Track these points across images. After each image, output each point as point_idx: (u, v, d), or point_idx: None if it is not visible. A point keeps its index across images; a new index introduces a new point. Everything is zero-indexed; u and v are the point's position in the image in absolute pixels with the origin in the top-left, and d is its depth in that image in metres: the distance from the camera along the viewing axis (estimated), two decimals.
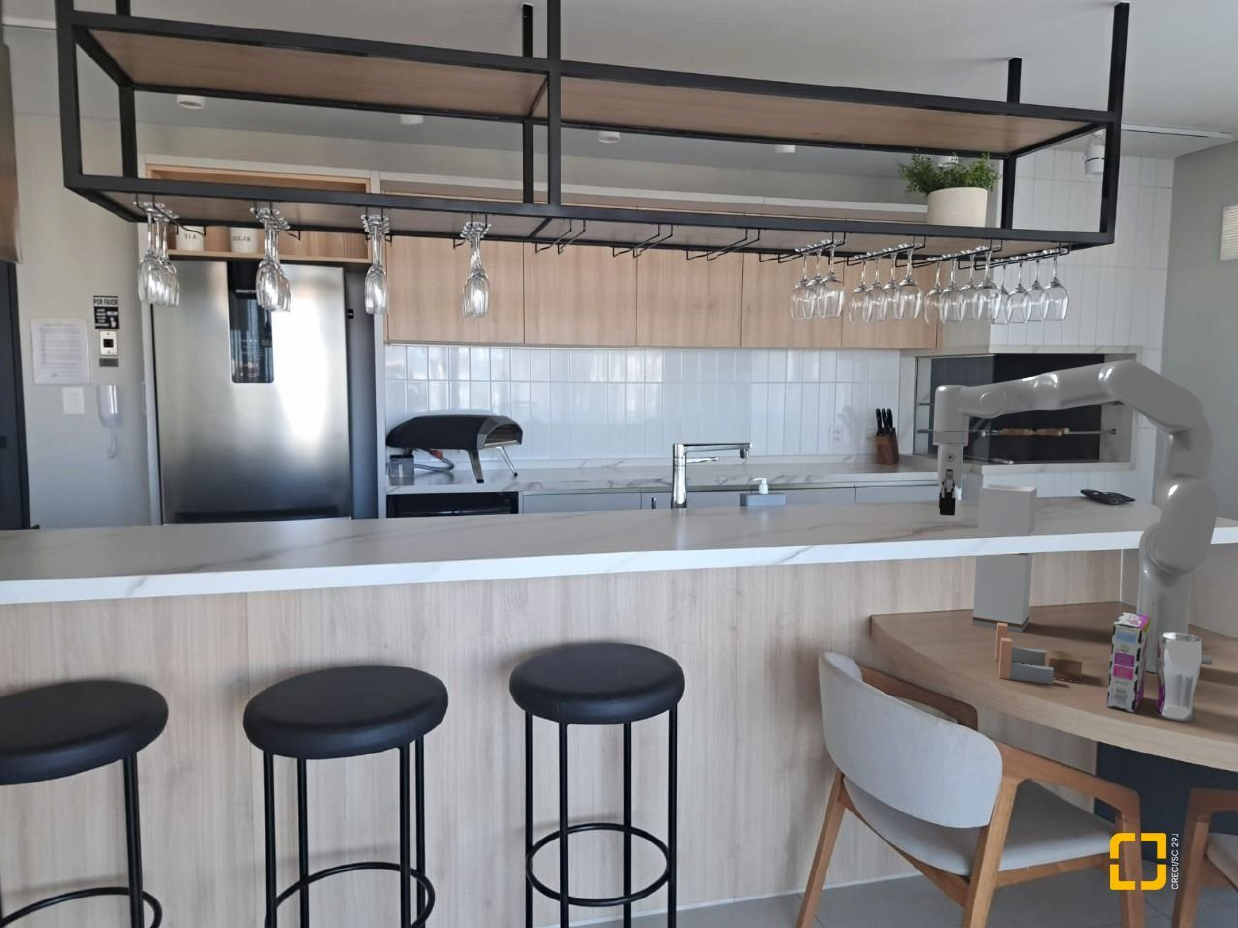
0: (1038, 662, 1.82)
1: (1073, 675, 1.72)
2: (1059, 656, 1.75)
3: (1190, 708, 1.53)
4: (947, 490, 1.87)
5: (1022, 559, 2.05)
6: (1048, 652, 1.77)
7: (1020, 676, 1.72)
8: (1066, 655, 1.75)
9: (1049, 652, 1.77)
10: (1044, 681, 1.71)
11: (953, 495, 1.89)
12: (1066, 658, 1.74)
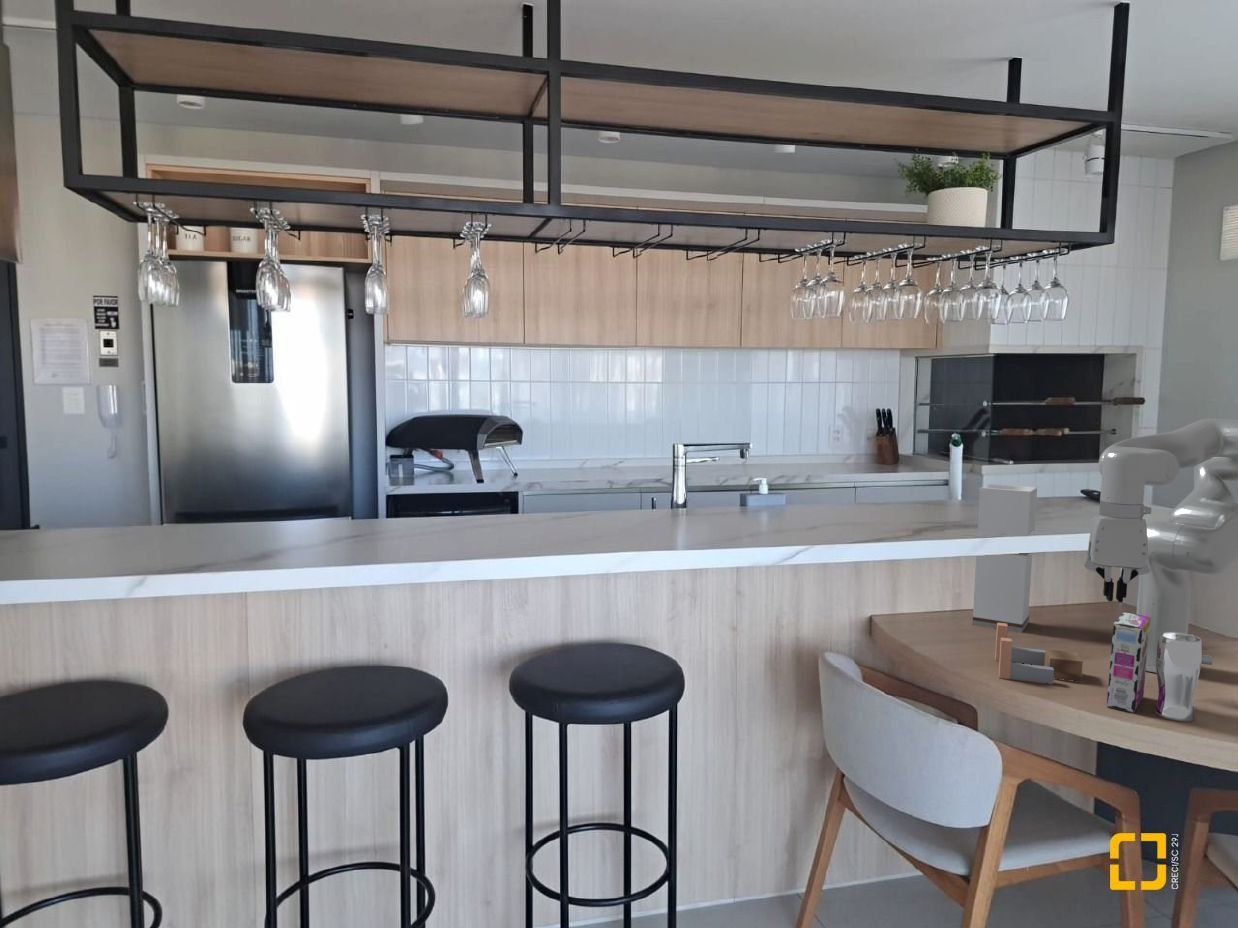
0: (1038, 662, 1.82)
1: (1073, 675, 1.72)
2: (1060, 656, 1.75)
3: (1190, 708, 1.53)
4: None
5: (1022, 559, 2.05)
6: (1048, 652, 1.77)
7: (1020, 676, 1.72)
8: (1066, 655, 1.75)
9: (1049, 652, 1.77)
10: (1044, 681, 1.71)
11: None
12: (1066, 658, 1.73)
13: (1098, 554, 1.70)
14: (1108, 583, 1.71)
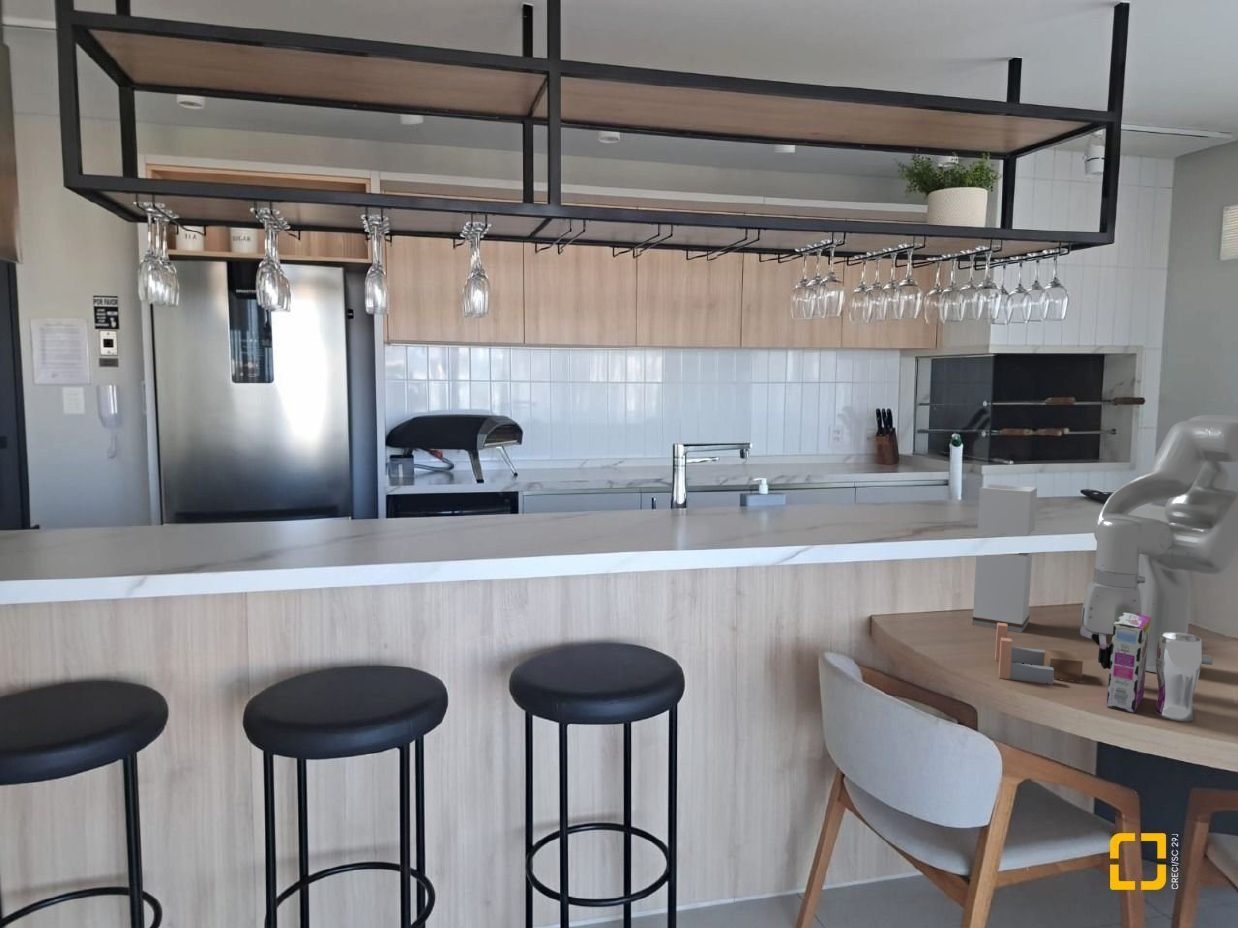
0: (1038, 662, 1.82)
1: (1074, 675, 1.72)
2: (1060, 656, 1.75)
3: (1190, 708, 1.53)
4: None
5: (1022, 559, 2.05)
6: (1048, 652, 1.77)
7: (1020, 676, 1.72)
8: (1066, 655, 1.75)
9: (1049, 652, 1.77)
10: (1044, 681, 1.71)
11: None
12: (1067, 658, 1.73)
13: (1091, 621, 1.71)
14: (1103, 650, 1.71)
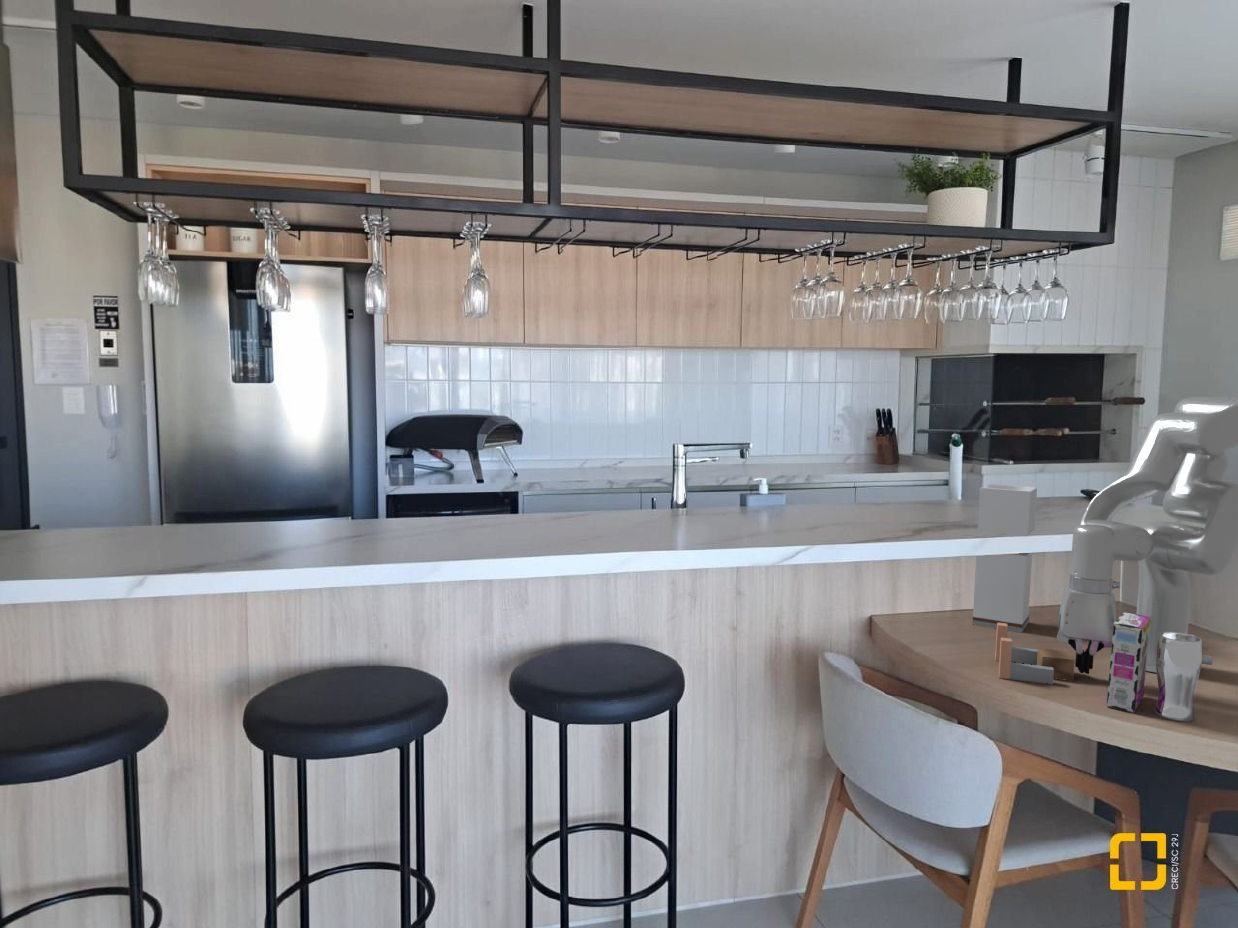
0: None
1: (1066, 673, 1.73)
2: (1052, 655, 1.75)
3: (1190, 708, 1.53)
4: None
5: (1022, 559, 2.05)
6: (1040, 651, 1.78)
7: (1020, 676, 1.72)
8: (1058, 654, 1.76)
9: (1042, 650, 1.78)
10: (1044, 681, 1.71)
11: None
12: (1059, 656, 1.74)
13: (1068, 627, 1.73)
14: (1080, 655, 1.73)
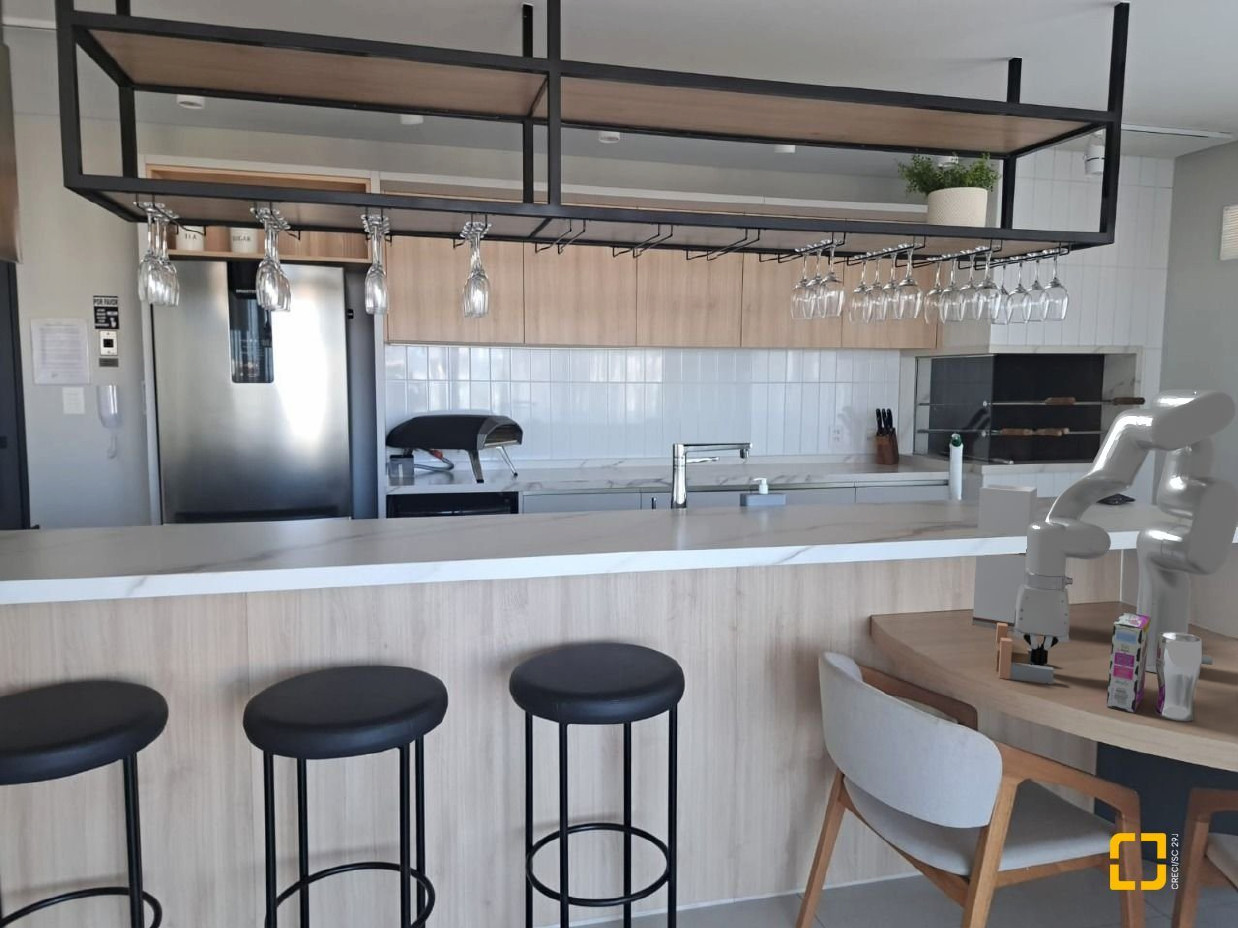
0: None
1: None
2: None
3: (1190, 708, 1.53)
4: None
5: (1022, 559, 2.05)
6: (997, 645, 1.81)
7: (1020, 676, 1.72)
8: (1014, 648, 1.79)
9: (999, 645, 1.81)
10: (1044, 681, 1.71)
11: None
12: (1014, 650, 1.77)
13: (1022, 622, 1.76)
14: (1035, 650, 1.76)
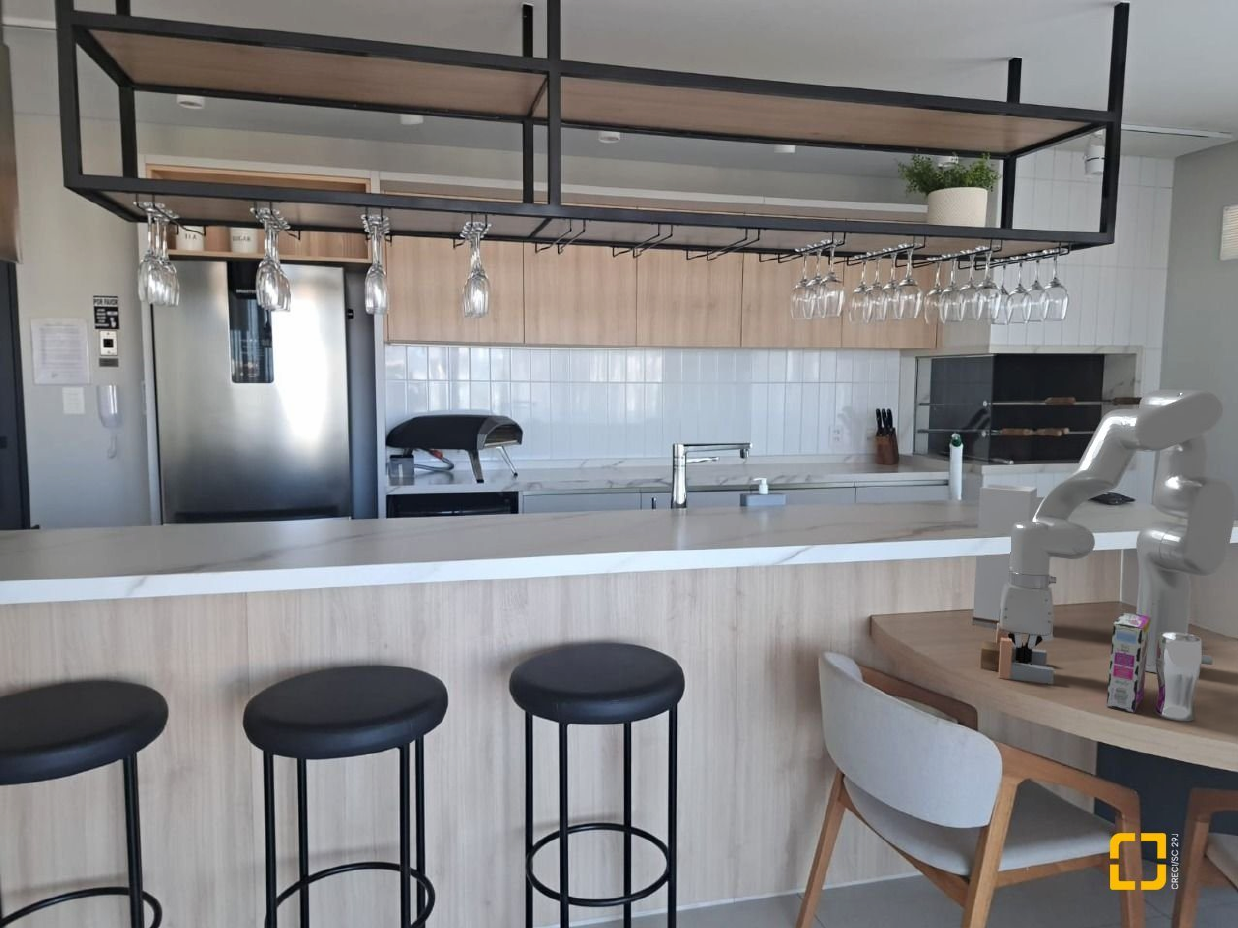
0: (1038, 662, 1.82)
1: None
2: (992, 647, 1.80)
3: (1190, 708, 1.53)
4: None
5: None
6: (982, 643, 1.83)
7: (1020, 676, 1.72)
8: (999, 646, 1.81)
9: (984, 643, 1.83)
10: (1044, 681, 1.71)
11: None
12: (998, 649, 1.79)
13: (1007, 621, 1.77)
14: (1019, 649, 1.78)
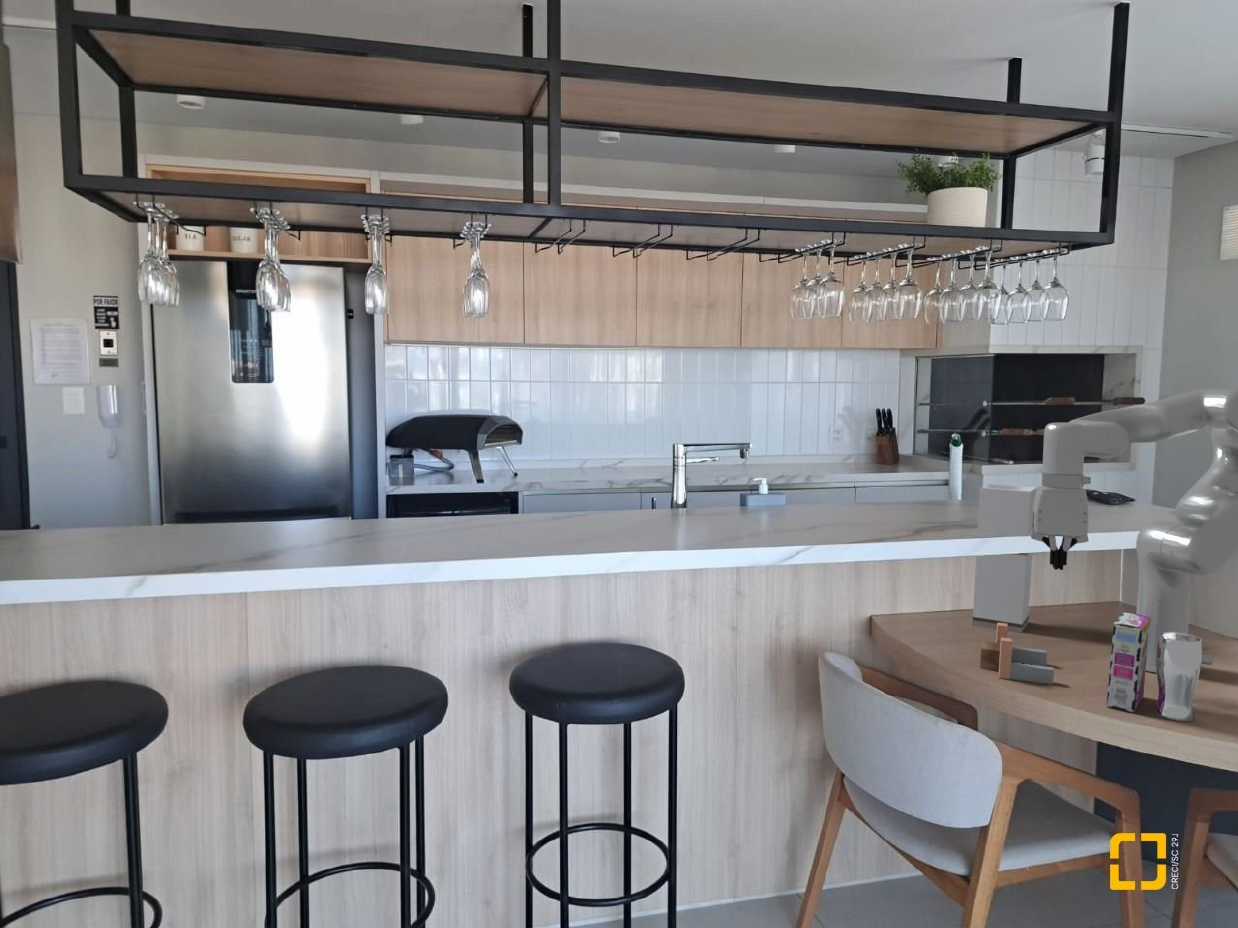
0: (1038, 662, 1.82)
1: None
2: (992, 647, 1.80)
3: (1190, 708, 1.53)
4: None
5: (1022, 559, 2.05)
6: (983, 643, 1.83)
7: (1020, 676, 1.72)
8: (999, 646, 1.81)
9: (984, 643, 1.83)
10: (1044, 681, 1.71)
11: None
12: (998, 649, 1.79)
13: (1041, 524, 1.74)
14: (1054, 552, 1.75)
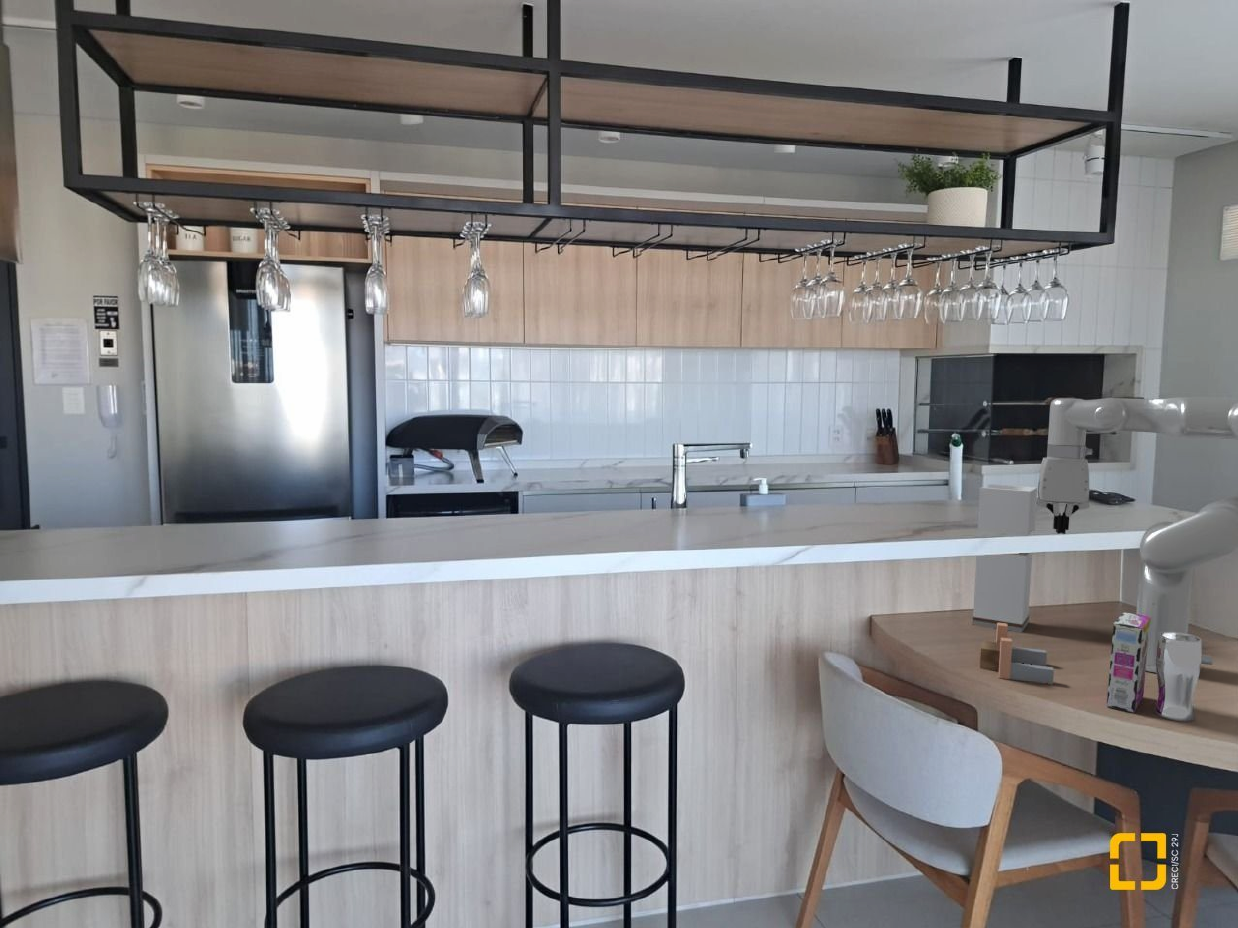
0: (1038, 662, 1.82)
1: None
2: (992, 647, 1.80)
3: (1190, 708, 1.53)
4: (1076, 509, 1.90)
5: (1022, 559, 2.05)
6: (983, 643, 1.83)
7: (1020, 676, 1.72)
8: (999, 646, 1.81)
9: (984, 643, 1.83)
10: (1044, 681, 1.71)
11: None
12: (997, 649, 1.79)
13: (1045, 491, 1.90)
14: (1057, 517, 1.91)
